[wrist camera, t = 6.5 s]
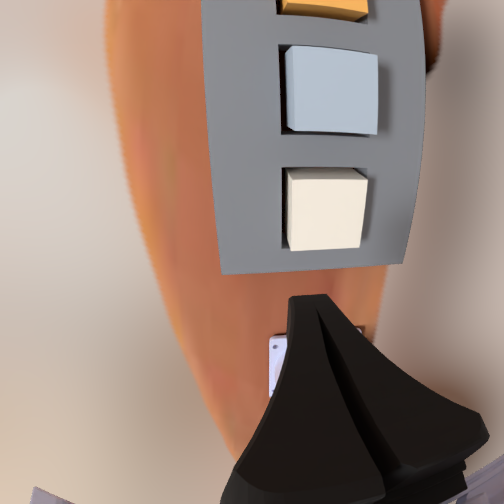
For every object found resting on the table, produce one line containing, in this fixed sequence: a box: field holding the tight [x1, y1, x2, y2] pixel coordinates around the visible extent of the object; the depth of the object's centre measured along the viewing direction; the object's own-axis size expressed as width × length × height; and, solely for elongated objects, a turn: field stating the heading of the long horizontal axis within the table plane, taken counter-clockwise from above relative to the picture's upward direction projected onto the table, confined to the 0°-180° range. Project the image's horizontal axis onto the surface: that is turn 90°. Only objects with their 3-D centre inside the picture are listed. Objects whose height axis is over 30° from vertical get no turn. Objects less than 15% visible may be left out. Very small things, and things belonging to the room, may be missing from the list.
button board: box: [201, 0, 426, 275], centre depth 13 cm, size 21×12×2 cm, turn 2°
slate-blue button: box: [284, 46, 378, 135], centre depth 12 cm, size 4×4×2 cm
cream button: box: [285, 167, 368, 251], centre depth 16 cm, size 4×4×2 cm
